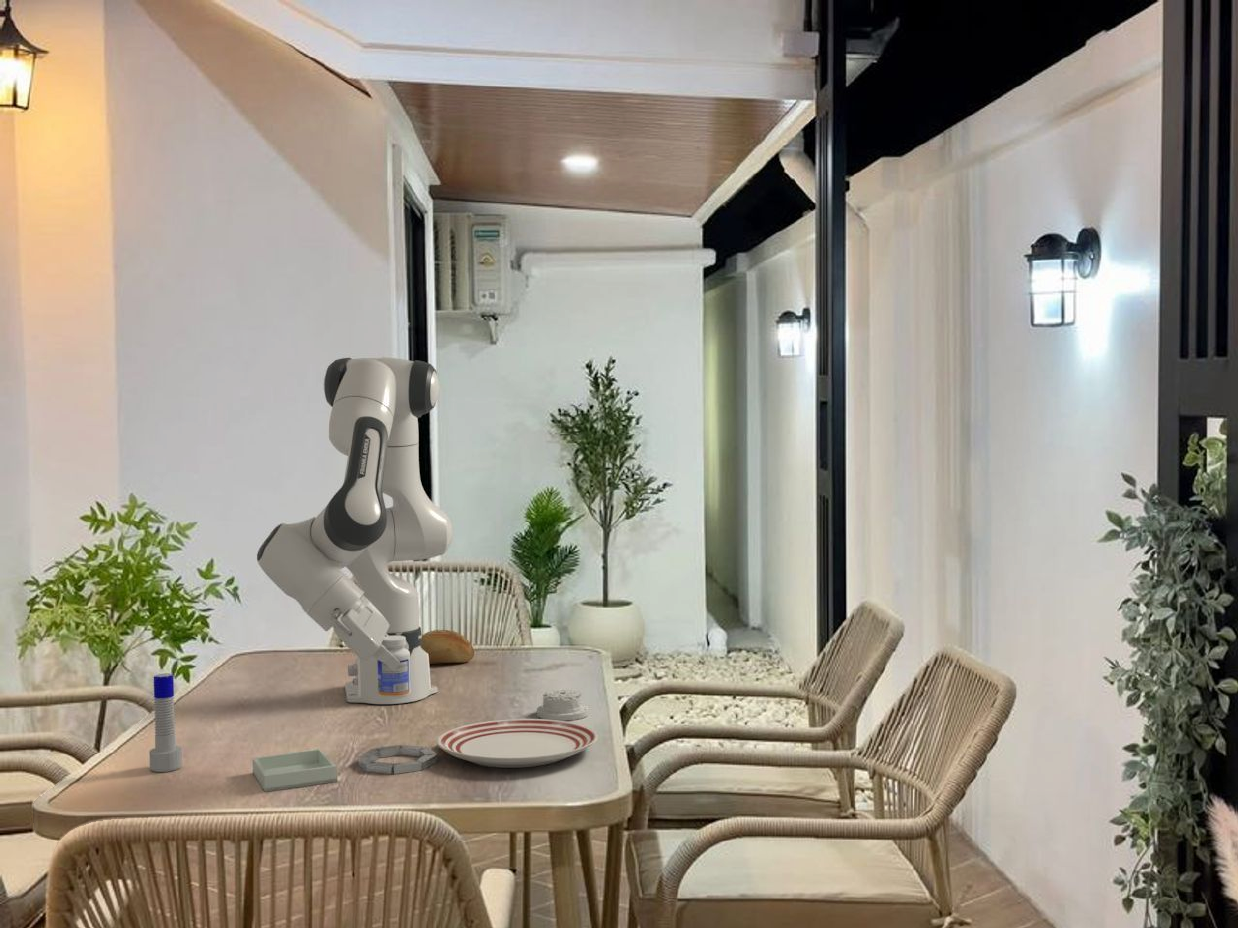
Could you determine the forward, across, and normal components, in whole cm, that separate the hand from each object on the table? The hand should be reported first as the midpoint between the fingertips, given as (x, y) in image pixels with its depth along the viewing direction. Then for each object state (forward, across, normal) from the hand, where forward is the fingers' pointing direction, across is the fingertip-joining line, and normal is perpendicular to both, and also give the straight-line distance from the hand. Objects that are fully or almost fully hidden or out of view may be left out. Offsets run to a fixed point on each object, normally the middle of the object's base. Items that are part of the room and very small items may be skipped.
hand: (398, 661), depth 202 cm
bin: (0, -6, +24) cm, 24 cm away
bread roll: (+15, +79, +10) cm, 81 cm away
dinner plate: (+26, +3, -2) cm, 26 cm away
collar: (+12, 0, +12) cm, 17 cm away
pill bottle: (+4, 0, +5) cm, 6 cm away
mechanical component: (+33, +28, -8) cm, 44 cm away
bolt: (-15, +2, +39) cm, 42 cm away
